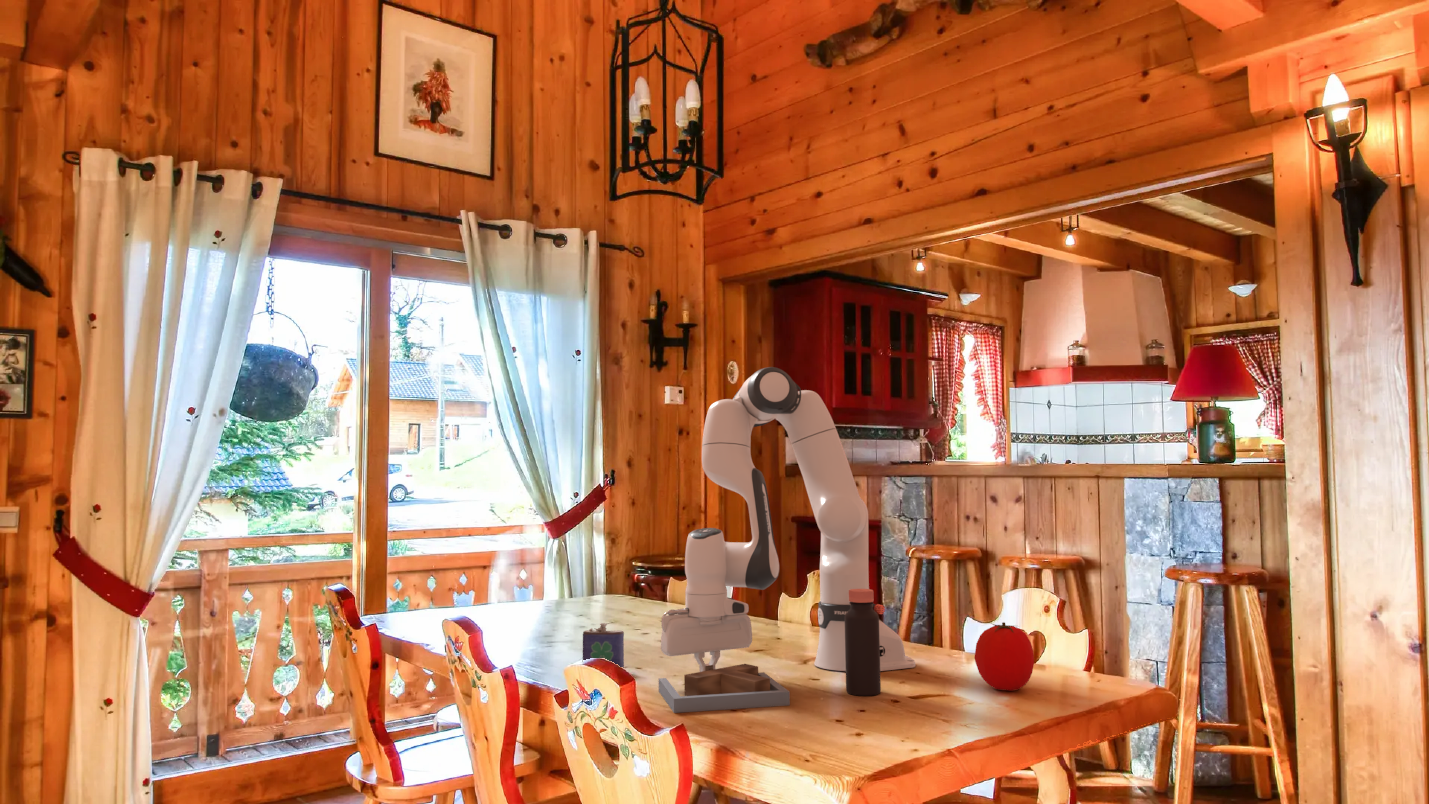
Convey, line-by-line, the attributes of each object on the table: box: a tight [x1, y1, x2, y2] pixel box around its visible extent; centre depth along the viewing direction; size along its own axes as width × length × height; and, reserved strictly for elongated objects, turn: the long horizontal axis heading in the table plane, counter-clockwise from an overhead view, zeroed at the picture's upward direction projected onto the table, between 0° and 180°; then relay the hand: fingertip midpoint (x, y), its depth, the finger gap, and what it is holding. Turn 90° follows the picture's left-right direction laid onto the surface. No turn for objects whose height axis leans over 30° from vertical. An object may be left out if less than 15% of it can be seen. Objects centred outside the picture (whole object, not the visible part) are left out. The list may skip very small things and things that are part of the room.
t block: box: [683, 663, 770, 696], centre depth 185 cm, size 16×14×4 cm
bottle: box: [845, 588, 882, 697], centre depth 186 cm, size 7×7×20 cm
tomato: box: [974, 621, 1035, 692], centre depth 187 cm, size 12×12×13 cm
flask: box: [582, 622, 625, 669], centre depth 208 cm, size 9×3×11 cm, turn 87°
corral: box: [658, 671, 791, 714], centre depth 182 cm, size 22×18×2 cm
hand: (707, 673), depth 196 cm, fingers closed
